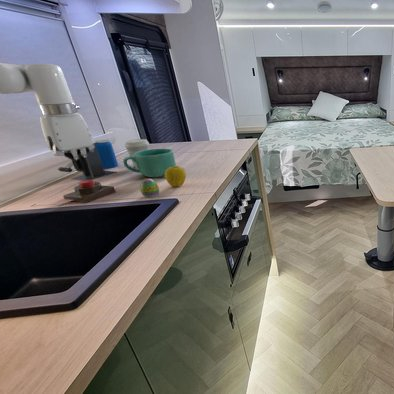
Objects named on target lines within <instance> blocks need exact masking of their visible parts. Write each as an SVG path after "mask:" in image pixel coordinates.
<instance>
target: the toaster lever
mask: <svg viewBox="0 0 394 394" xmlns="http://www.w3.org/2000/svg"><path fill="white" fill-rule="evenodd" d="M73 167H74V165H73V163H72V160H71V161H69V162H68V163H67V164H66V165H65V166H64V167H63V166H60V167H58V168H57V170H58V171H59V172H63V173H72V172H73Z"/></svg>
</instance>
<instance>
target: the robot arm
mask: <svg viewBox="0 0 394 394" xmlns="http://www.w3.org/2000/svg"><path fill="white" fill-rule="evenodd" d="M30 92H33V94H34V97H35V100H36V101H37V104H38V107H39V109H40V111H41V113H42V116H40V117H39V121H40V126H41V131H42V135H43V138H44V142H45V143H46V146H47V148H48V150H50V151H52V153H53V156H55V157H65V158H67V159H69V160H71V161H72V163H73V168H74V169H75V170H76V171H77V172H81V173H83V172H84V171H88V170H89V165H88V163H87V160H86V157H87V153H88V152H89V150H92V149H94V148H95V146H94V145H93V144H94V141H95V140H94V138H93V135H92V133H91V131H90V128H89V126H88V124H87V122H86V120H85V118H84V117H83V116H82V113H79V111H78V110H80V109H81V106H80V105H79V104H76V103H75V101H74V99H73V96H72V93H71V90H70V88H69V85H68V82H67V80H66V77H65V75H64V72H63V70H62V68H61V67H60V66H59V65H57V64H55V63H27V64H26V65H25V64H14V63H6V62H0V95H9V94H23V93H30ZM74 149H75V150H74Z"/></svg>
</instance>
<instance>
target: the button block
mask: <svg viewBox="0 0 394 394" xmlns="http://www.w3.org/2000/svg"><path fill="white" fill-rule="evenodd" d="M94 184H95V185H94V186H91V187H86V188H80V186H79V184H77V185H76V186H74V187H73V190H74V191H72V192H69V193H66V194H63V195H62V196H63V199H64V200H70V201H68V203H74V204H75V203H76V204H84V205H85V204H88V203H90V202H93V201H96V200H98V199H101V198H104V197H108V196H110V195H112V194H115V193H116V192H117V191H116V189H115V186H112V185H103V184H102V183H101V182H99V181H94Z"/></svg>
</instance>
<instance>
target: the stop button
mask: <svg viewBox="0 0 394 394" xmlns="http://www.w3.org/2000/svg"><path fill="white" fill-rule="evenodd" d="M94 182H95V181H94V179H93V180H79V182H78V185H79V186H80V188H86V187H91V186H94V185H95V184H94Z"/></svg>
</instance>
